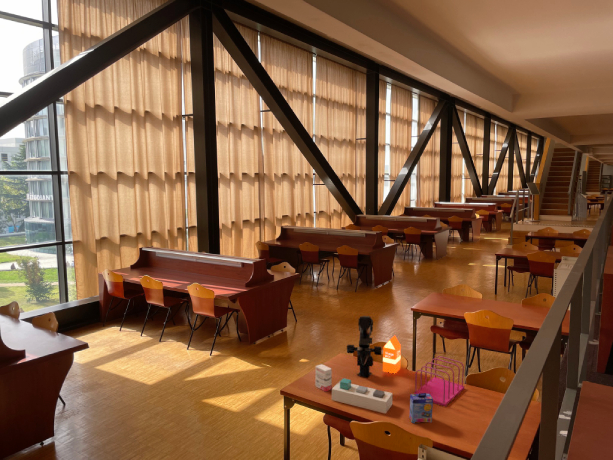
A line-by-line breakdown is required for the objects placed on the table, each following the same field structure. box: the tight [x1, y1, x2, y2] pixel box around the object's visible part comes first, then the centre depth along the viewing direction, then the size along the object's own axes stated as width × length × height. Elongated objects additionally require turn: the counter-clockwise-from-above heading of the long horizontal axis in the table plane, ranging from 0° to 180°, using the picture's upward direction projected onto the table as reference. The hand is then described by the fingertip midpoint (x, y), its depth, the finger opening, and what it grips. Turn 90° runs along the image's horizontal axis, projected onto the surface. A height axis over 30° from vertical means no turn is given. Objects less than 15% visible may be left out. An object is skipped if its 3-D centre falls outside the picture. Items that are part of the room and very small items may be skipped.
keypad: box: [331, 380, 393, 414], centre depth 245 cm, size 10×29×6 cm, turn 62°
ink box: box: [314, 363, 333, 392], centre depth 260 cm, size 8×5×12 cm, turn 39°
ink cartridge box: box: [409, 393, 434, 424], centre depth 227 cm, size 10×6×14 cm, turn 95°
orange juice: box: [382, 335, 402, 375], centre depth 281 cm, size 8×9×20 cm
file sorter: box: [413, 355, 465, 407], centre depth 254 cm, size 17×25×16 cm
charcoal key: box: [373, 389, 384, 398], centre depth 240 cm, size 4×4×4 cm
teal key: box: [339, 377, 352, 390], centre depth 248 cm, size 4×4×4 cm
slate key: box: [356, 385, 369, 394], centre depth 244 cm, size 4×4×4 cm
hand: (363, 365), depth 257 cm, fingers closed
